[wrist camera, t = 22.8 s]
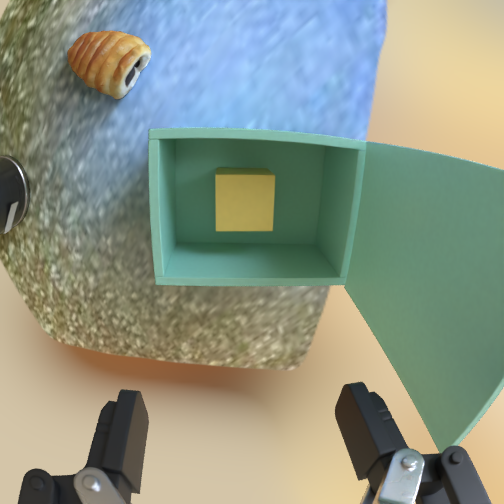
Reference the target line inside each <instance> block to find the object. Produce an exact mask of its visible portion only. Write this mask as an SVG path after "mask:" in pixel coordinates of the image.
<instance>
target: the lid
mask: <svg viewBox="0 0 504 504" xmlns="http://www.w3.org/2000/svg"><path fill="white" fill-rule="evenodd" d="M344 288H345V289H346V291H347V293H348V294H349V295H350V297H351V298H352V300H353V302H354V303H355V305H356V307H357V308H358V310H359V311H360V313H361V314H362V316H363V318H364V319H365V321H366V323H367V324H368V326H369V327H370V329H371V331H372V332H373V334H374V336H375V337H376V339H377V340H378V342H379V344H380V345H381V347H382V349H383V351H384V352H385V354H386V356H387V357H388V359H389V361H390V362H391V364H392V366H393V367H394V369H395V371H396V372H397V374H398V376H399V378H400V380H401V381H402V383H403V385H404V387H405V388H406V390H407V392H408V394H409V396H410V398H411V399H412V401H413V403H414V405H415V407H416V408H417V410H418V412H419V414H420V416H421V418H422V420H423V421H424V423H425V425H426V427H427V429H428V431H429V433H430V435H431V437H432V439H433V441H434V443H435V445H436V447H437V448H438V451H439V453H442V452H443V451H444V450H445V449H446V448H447V447H449V446H453V445H456V446H458V445H459V444H460V442H461V441H462V440H463V439H464V438H465V437H466V435H467V434H468V433H469V432H470V431H471V430H472V429H473V427H474V426H475V425H476V424H477V422H478V421H479V420H480V419H481V418H482V416H483V415H484V414H485V412H486V411H487V410H488V408H489V407H490V406H491V404H492V403H493V402H494V400H495V399H496V397H497V396H498V395H499V393H500V392H501V390H502V389H503V387H504V170H502V169H499V168H495V167H492V166H488V165H485V164H481V163H477V162H473V161H469V160H465V159H461V158H457V157H452V156H448V155H444V154H439V153H434V152H429V151H424V150H419V149H413V148H408V147H402V146H396V145H390V144H383V143H376V142H369V141H367V142H366V153H365V163H364V172H363V180H362V188H361V195H360V203H359V209H358V216H357V222H356V229H355V235H354V240H353V246H352V252H351V257H350V262H349V267H348V272H347V277H346V282H345V287H344Z"/></svg>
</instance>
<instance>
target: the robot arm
mask: <svg viewBox="0 0 504 504" xmlns="http://www.w3.org/2000/svg"><path fill="white" fill-rule="evenodd" d="M29 201H30V188H29V182H28V178H27V175H26V173H25V171H24V169H23V167H22V166H21V164H20V163H19V162H18V161H17V160H16V159H15V158H13V157H11V156H7V155H3V156H0V234H2V233H4V234H5V233H7V232H8V231H10V230H11V228H13V227H15V226H16V225H18V224H19V223H20V222H21V221H22V220H23V219H24V217H25V215H26V213H27V210H28V207H29ZM335 417H336V420H337V423H338V426H339V428H340V431H341V434H342V437H343V439H344V442H345V445H346V447H347V450H348V452H349V456H350V458H351V461H352V464H353V466H354V469H355V472H356V475H357V478H358V480H363V479H366V478H368V481H369V484H368V486H367V489H366V491H365V493H364V496H363V498H362V500H361V503H360V504H414V502H415V501H416V504H491V501H490V499H489V497H488V495H487V493H486V490H485V488H484V486H483V484H482V482H481V480H480V477H479V475H478V473H477V471H476V469H475V467H474V465H473V463H472V461H471V459H470V457H469V455H468V454H467V452H466V450H465V449H463V448H462V447H460V446H456V445H453V446H449V447H447V448H446V449H445V450H444V451H443V452H442V453H438V454H420V453H419V452H418V451H416V450H414V449H410V448H409V447H408V446H407V444H406V442H405V440H404V438H403V436H402V434H401V433H400V431H399V429H398V427H397V425H396V423H395V421H394V419H392V415H391V413H390V411H388V408H387V406H386V404H385V402H384V400H383V399H382V398H381V397H380V396H379V395H378V394H376V393H375V392H370V393H369V391H368V389H367V387H366V385H365V384H364V383H363V382H357V383H351V384H345V385H344V386H343V388H342V391H341V394H340V396H339V399H338V401H337V404H336V407H335ZM148 424H149V420H148V413H147V410H146V407H145V404H144V401H143V398H142V395H141V392H140V391H133V390H123V389H122V390H121V391H120V392H119V395H118V399H117V402H114V401H108V403H107V404H106V405H105V406H104V407H103V409H102V410H101V413H100V416H99V419H98V423H97V427H96V432H95V434H94V437H93V441H92V445H91V449H90V452H89V456H88V460H87V464H86V465H85V467H84V468H83V469H82V470H80V471H79V472H78V473H77V474H73V475H62V476H51V475H50V474H49V473H47V472H46V471H44V470H42V469H32V470H30V471H28V472H27V473H26V474H25V476H24V478H23V482H22V486H21V491H20V495H19V500H18V504H132V503H131V502H130V501H131V493H137V494H140V486H141V477H142V469H143V460H144V453H145V446H146V439H147V432H148Z"/></svg>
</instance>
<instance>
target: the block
mask: <svg viewBox="0 0 504 504" xmlns="http://www.w3.org/2000/svg"><path fill="white" fill-rule="evenodd" d="M274 197H275V175H274V174H273V173H272V172H271V171H270V170H269V169H267V168H217V170H216V175H215V203H216V232H217V231H273V217H274Z"/></svg>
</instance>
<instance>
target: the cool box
mask: <svg viewBox="0 0 504 504" xmlns="http://www.w3.org/2000/svg"><path fill="white" fill-rule="evenodd" d="M366 142H367V141H362V140H355V139H349V138H342V137H335V136H327V135H319V134H310V133H301V132H290V131H278V130H263V129H244V128H159V129H149V141H148V170H149V205H150V224H151V240H152V253H153V264H154V274H155V284H156V285H178V286H323V285H345V282H346V277H347V272H348V267H349V262H350V257H351V252H352V246H353V240H354V235H355V229H356V222H357V216H358V209H359V203H360V195H361V188H362V180H363V172H364V163H365V153H366ZM217 168H267V169H269V170H270V171H271V172H272V173H273V174H274V175H275V197H274V217H273V231H217V232H216V203H215V175H216V170H217Z"/></svg>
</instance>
